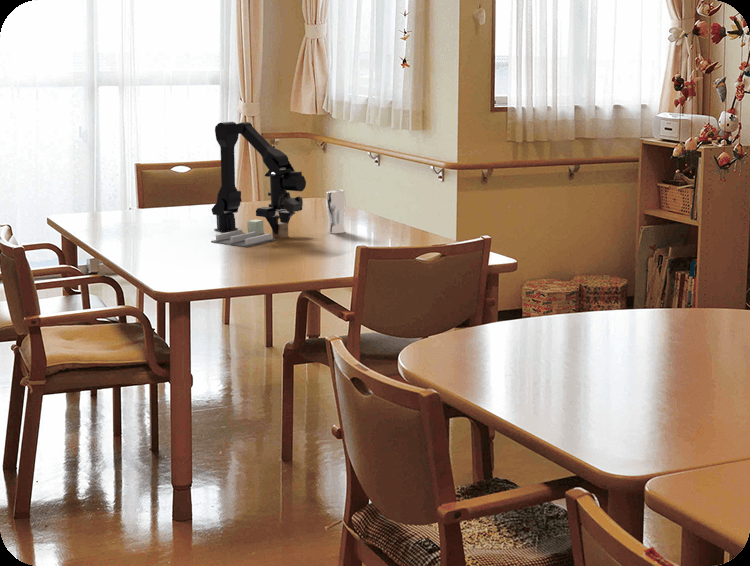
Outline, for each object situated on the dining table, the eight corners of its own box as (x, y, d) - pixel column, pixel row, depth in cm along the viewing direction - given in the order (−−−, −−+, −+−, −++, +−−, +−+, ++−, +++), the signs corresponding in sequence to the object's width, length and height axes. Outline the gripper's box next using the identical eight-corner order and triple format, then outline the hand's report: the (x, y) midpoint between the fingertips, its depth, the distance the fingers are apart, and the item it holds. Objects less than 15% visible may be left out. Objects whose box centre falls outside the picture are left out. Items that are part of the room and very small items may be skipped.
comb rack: (210, 242, 331) (210, 235, 331) (241, 235, 343) (240, 228, 342) (246, 247, 321) (246, 240, 321) (276, 239, 333) (276, 233, 333)
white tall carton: (343, 234, 342) (342, 192, 338) (324, 233, 343) (323, 192, 339) (348, 230, 348) (347, 189, 345) (329, 230, 350) (328, 189, 346)
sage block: (248, 234, 344) (247, 221, 343) (255, 232, 347) (254, 219, 346) (256, 235, 342) (255, 222, 341) (263, 233, 345) (263, 220, 344)
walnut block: (272, 237, 339) (271, 223, 338) (280, 235, 342) (279, 221, 341) (280, 238, 336) (280, 224, 335) (288, 236, 340) (287, 222, 338)
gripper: (277, 194, 323) (279, 239, 327) (313, 188, 338) (314, 231, 342) (253, 192, 330) (255, 236, 333) (289, 185, 344) (291, 228, 348)
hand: (280, 233), depth 339 cm, fingers open, 4 cm apart
